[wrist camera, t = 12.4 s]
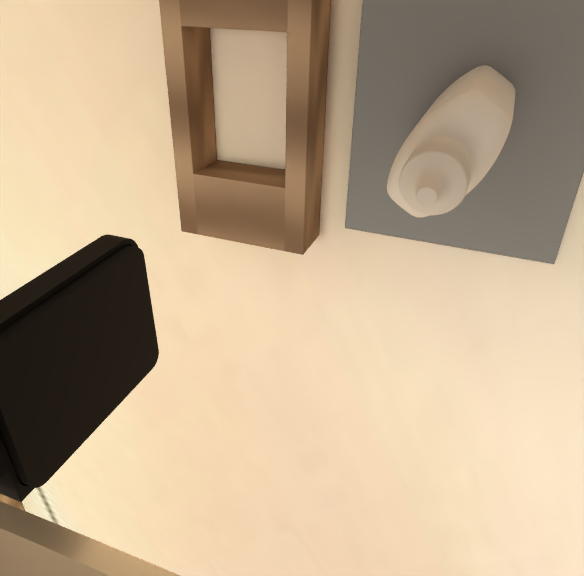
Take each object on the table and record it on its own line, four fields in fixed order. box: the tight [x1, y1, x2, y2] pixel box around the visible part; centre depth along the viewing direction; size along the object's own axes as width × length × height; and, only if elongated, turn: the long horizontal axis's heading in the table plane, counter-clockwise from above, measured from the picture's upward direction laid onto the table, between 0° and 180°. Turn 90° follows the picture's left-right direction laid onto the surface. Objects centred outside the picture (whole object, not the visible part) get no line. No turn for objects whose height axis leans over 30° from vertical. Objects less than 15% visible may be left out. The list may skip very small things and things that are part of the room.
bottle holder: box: [159, 0, 331, 255], centre depth 30 cm, size 16×8×3 cm, turn 179°
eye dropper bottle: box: [387, 65, 515, 217], centre depth 22 cm, size 4×6×12 cm
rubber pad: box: [345, 0, 584, 264], centre depth 27 cm, size 14×12×1 cm
